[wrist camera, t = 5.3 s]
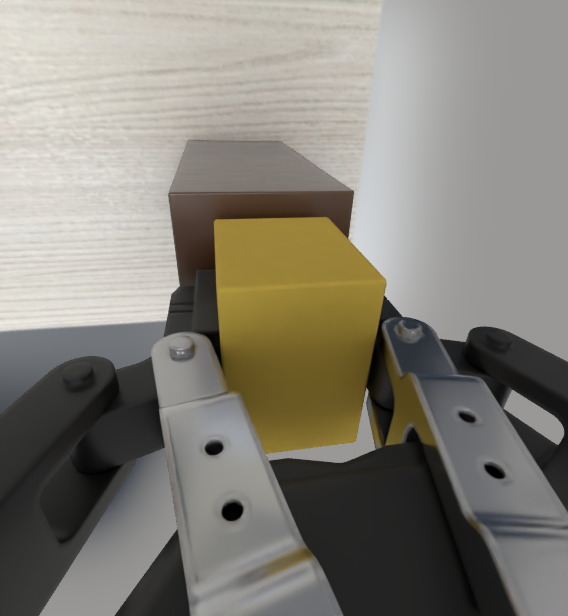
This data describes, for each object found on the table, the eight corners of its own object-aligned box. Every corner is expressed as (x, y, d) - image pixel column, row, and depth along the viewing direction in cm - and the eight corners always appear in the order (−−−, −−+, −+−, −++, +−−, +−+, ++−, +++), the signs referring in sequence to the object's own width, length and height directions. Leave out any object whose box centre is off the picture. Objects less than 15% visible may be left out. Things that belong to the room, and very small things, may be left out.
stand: (187, 139, 23) (167, 192, 11) (281, 141, 24) (354, 191, 12) (196, 232, 26) (187, 350, 14) (279, 229, 27) (335, 338, 15)
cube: (213, 218, 11) (216, 289, 7) (328, 216, 11) (388, 280, 8) (222, 353, 13) (228, 460, 9) (316, 346, 14) (356, 443, 10)
